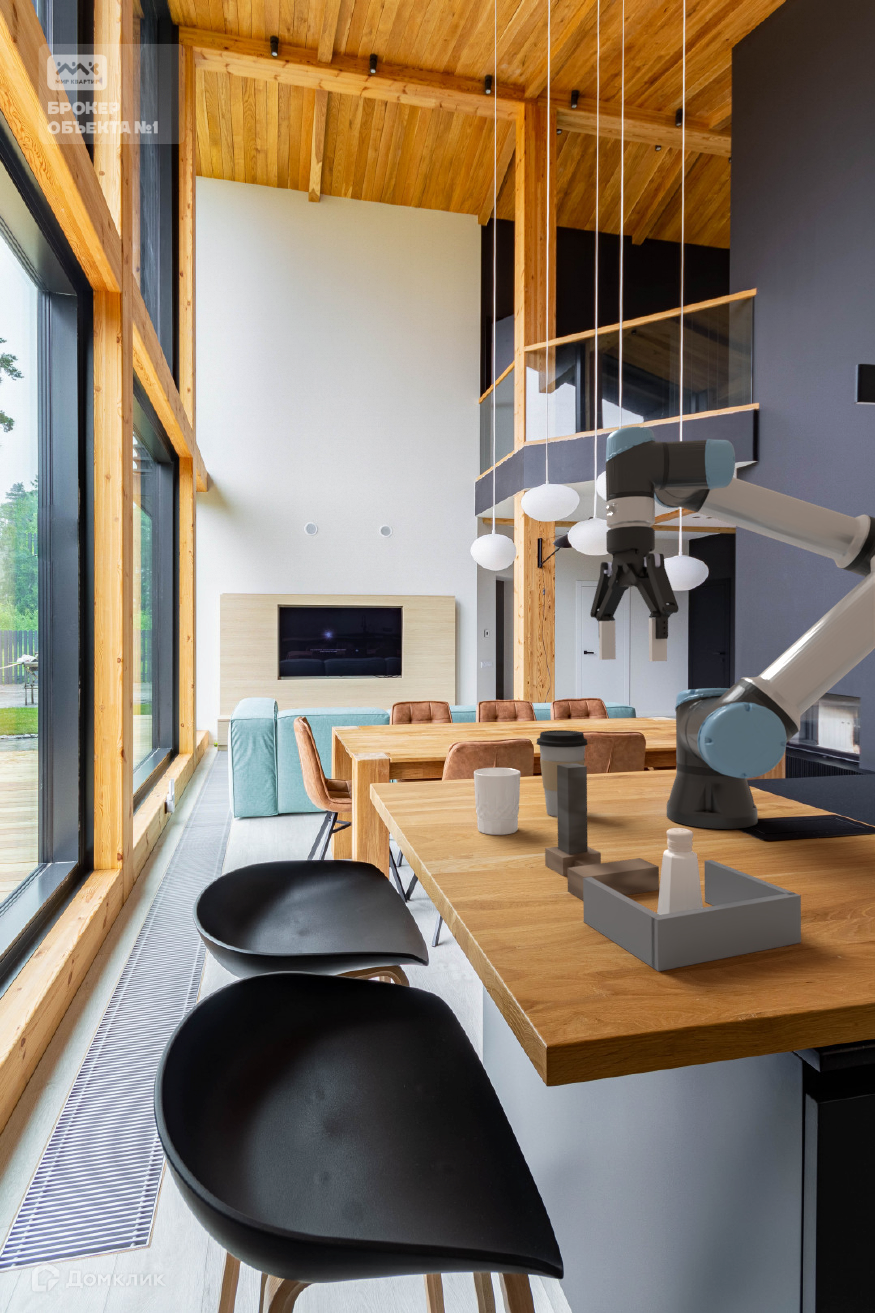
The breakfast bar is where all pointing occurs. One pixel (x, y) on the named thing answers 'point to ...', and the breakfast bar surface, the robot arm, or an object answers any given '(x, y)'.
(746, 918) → the box
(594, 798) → the breakfast bar surface
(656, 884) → the block post with base
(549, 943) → the breakfast bar surface
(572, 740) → the coffee cup
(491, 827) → the white cup
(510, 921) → the breakfast bar surface
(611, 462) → the robot arm
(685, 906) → the salt shaker
